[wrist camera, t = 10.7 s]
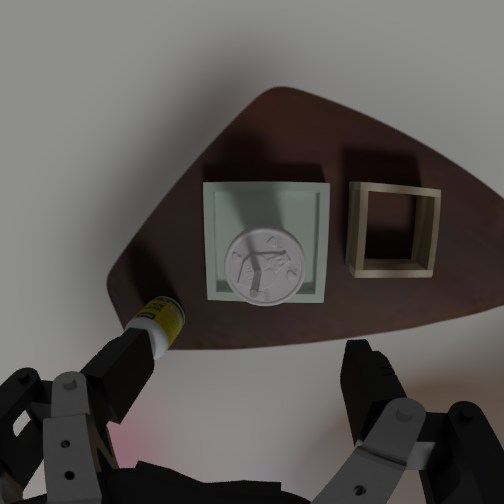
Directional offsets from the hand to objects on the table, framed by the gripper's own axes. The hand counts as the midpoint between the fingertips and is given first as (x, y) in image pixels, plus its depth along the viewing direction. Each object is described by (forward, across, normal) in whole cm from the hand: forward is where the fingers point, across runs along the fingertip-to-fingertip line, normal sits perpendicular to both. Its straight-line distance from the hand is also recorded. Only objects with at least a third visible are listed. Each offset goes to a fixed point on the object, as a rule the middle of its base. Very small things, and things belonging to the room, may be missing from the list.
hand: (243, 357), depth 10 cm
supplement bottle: (+22, +13, +10) cm, 28 cm away
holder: (+22, -14, -2) cm, 26 cm away
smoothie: (+21, 0, 0) cm, 21 cm away
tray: (+22, 0, 0) cm, 22 cm away
